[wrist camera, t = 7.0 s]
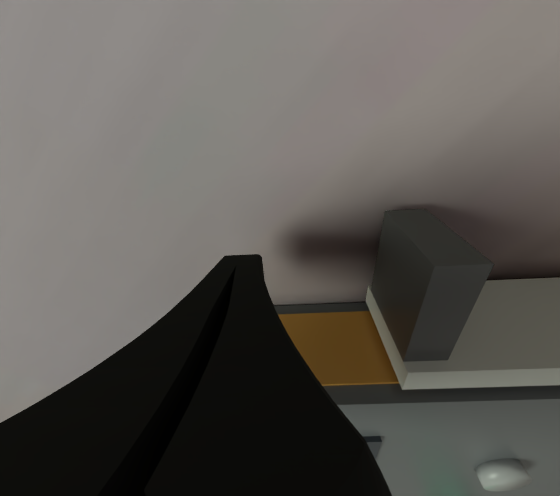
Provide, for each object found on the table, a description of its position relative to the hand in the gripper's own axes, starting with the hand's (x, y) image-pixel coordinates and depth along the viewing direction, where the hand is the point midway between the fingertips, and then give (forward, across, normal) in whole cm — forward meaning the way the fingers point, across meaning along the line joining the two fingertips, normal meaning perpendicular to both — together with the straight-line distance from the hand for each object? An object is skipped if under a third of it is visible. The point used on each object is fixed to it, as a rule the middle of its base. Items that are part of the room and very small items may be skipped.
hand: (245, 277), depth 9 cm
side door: (+2, -10, +1) cm, 11 cm away
